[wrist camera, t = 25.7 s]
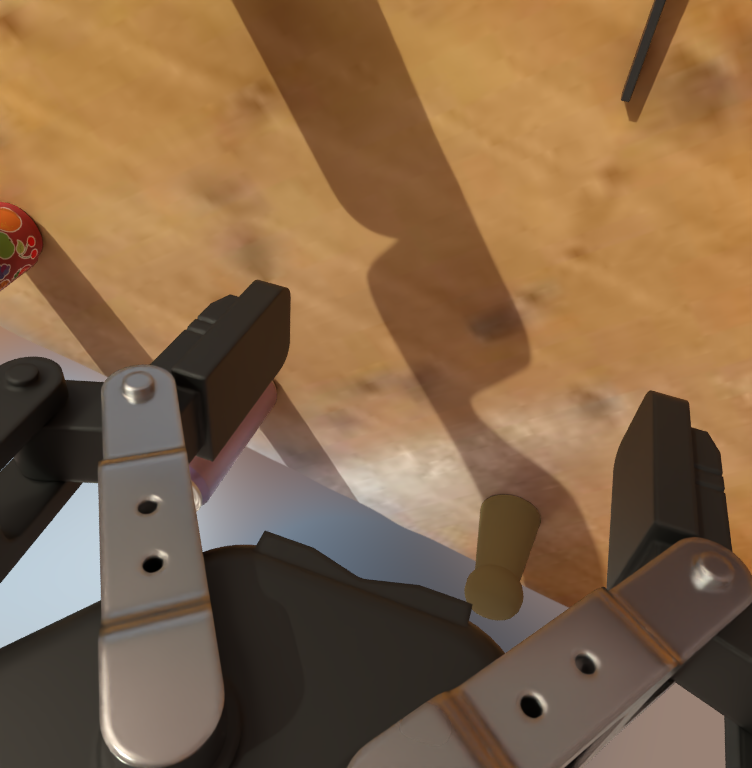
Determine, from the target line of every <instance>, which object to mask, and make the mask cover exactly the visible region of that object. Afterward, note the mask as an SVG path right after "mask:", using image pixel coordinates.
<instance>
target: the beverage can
mask: <svg viewBox="0 0 752 768" xmlns="http://www.w3.org/2000/svg"><path fill="white" fill-rule="evenodd" d="M276 400H277V391H276V386H275V384H274V382H273V380H272V381H271V383H270V384H269V386H268V387H267V388H266V390H265V391H264V392H263V394H262V395H261V397H260V398H259V399H258V401H257V402H256V403H255V405H254V406H253V408H252V409H251V410H250V412H249V413H248V414H247V416H246V417H245V419H244V420H243V421H242V423H241V424H240V425H239V427H238V428H237V430H236V431H235V432H234V434H233V435H232V436H231V438H230V439H229V441H228V442H227V443H226V445H225V446H224V447H223V449H222V450H221V451H220V453H219V454H218V456H217V457H216V458H215V460H214V461H213V462H212V461H209V460H206V459H203V458H200V457H197V456H195V457H194V459H193V460H192V461H191V462H190V464H189V470H190V476H191V482H192V489H193V495H194V501H195V508H196V512H197V511H198V510H199V509H200V508H201V506H202V505H204V504H205V503H206V502H207V501H208V500H209V498H210V497H211V496H212V494H213V493H214V491H215V490H216V488H217V487H218V486H219V484H220V482H221V481H222V480H223V478H224V477H225V475H226V474H227V473H228V471H229V470H230V468H231V467H232V465H233V464H234V462H235V461H236V459H237V458H238V457H239V455H240V454H241V452H242V451H243V449H244V448H245V447H246V445H247V444H248V442H249V441H250V439H251V438H252V437H253V435H254V434H255V432H256V431H257V429H258V428H259V426H260V425H261V424H262V422H263V421H264V419H265V418H266V416H267V415H268V413H269V412H270V411H271V409H272V408H273V406H274V405H275V403H276Z"/></svg>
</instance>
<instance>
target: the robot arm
mask: <svg viewBox="0 0 752 768" xmlns="http://www.w3.org/2000/svg"><path fill="white" fill-rule="evenodd" d="M290 300H291V297H290V291H289V289H288V288H286V287H282V286H279V285H275V284H271V283H268V282H264V281H261V280H255V281H254V282H253V283H252V284H251V285H250V286H249V287H248V288H247V289H246V290H245V291H244V292H243V293H242V294H241V295H240V296H239V297H237V296H234V295H228V296H226V297H224V298H222V299H220V300H217V301H215V302H213V303H211V304H210V305H209V306H208V307H207V308H206V309H205V310H204V311H203V312H202V313H201V314H200V315H199V316H198V319H195V320H194V321H193V322H192V323H191V324H190V325H189V326H188V328H187V330H184V331H183V332H182V333H181V334H180V335H179V336H178V337H177V338H176V339H175V340H174V341H173V342H172V343H171V344H170V345H169V346H168V347H167V348H166V349H165V350H164V351H163V352H162V353H161V354H160V355H159V356H158V357H157V358H156V359H155V360H154V361H153V362H152V363H151V364H150V365H134V366H129V367H126V368H123V369H121V370H118V371H117V372H115V373H113V374H112V375H110V376H109V377H108V378H107V379H106V380H105V382H91V381H74V380H65V379H64V375H63V372H62V369H61V367H60V366H59V365H58V364H57V363H56V362H54V361H52V360H50V359H47V358H42V357H24V358H18V359H14V360H11V361H8V362H6V363H4V364H2V365H0V471H1V469H2V471H1V472H0V583H1V582H2V580H3V579H4V578H5V577H6V576H7V575H8V573H9V572H10V571H11V570H12V568H13V567H14V566H15V565H16V564H17V562H18V561H19V560H20V558H21V557H22V556H23V555H24V554H25V553H26V551H27V550H28V549H29V548H30V546H31V545H32V544H33V543H34V542H35V540H36V539H37V538H38V537H39V535H40V534H41V533H42V532H43V530H44V529H45V528H46V527H47V526H48V524H49V523H50V522H51V521H52V520H53V518H54V517H55V516H56V515H57V513H58V512H59V511H60V510H61V509H62V507H63V506H64V505H65V504H66V502H67V501H68V500H69V499H70V498H71V496H72V495H73V494H74V493H75V491H76V490H77V489H78V488H79V487H80V485H81V484H82V483H83V482H85V483H98V492H99V534H100V575H101V600H100V601H98V602H96V603H94V604H92V605H90V606H88V607H86V608H84V609H82V610H80V611H77V612H75V613H73V614H71V615H69V616H67V617H65V618H63V619H61V620H59V621H56V622H54V623H52V624H50V625H48V626H46V627H44V628H42V629H40V630H38V631H36V632H34V633H31V634H29V635H27V636H25V637H23V638H21V639H19V640H17V641H15V642H13V643H11V644H8V645H7V646H4V647H2V648H0V768H583V767H584V766H585V765H586V764H587V763H589V762H590V761H591V760H592V759H593V758H594V757H595V756H596V755H597V754H598V753H599V752H600V751H601V750H602V749H603V748H604V747H605V746H606V745H607V744H608V743H609V742H610V741H611V740H612V739H613V738H614V737H615V736H617V735H618V734H619V733H620V732H621V731H622V730H623V729H624V728H625V727H627V726H628V725H629V724H630V723H631V722H632V721H633V720H634V719H636V717H638V716H639V715H640V714H641V713H642V712H643V711H644V710H646V709H647V708H648V707H649V706H650V705H651V704H652V703H653V702H655V701H656V700H657V699H658V698H659V697H660V696H661V695H662V694H663V693H665V692H666V691H667V690H668V689H669V688H670V687H671V686H672V685H674V683H677V684H679V685H680V686H682V687H683V688H684V689H686V690H687V691H689V692H691V693H692V694H693V695H695V696H696V697H698V698H699V699H701V700H702V701H703V702H705V703H706V704H708V705H709V706H711V707H712V708H714V709H715V710H717V711H718V712H720V713H721V714H722V715H724V717H725V718H724V720H725V757H726V758H725V760H726V768H752V575H751V573H750V571H749V570H748V568H747V567H746V565H745V564H744V563H743V562H742V561H741V559H740V558H738V557H737V556H736V555H735V554H734V553H733V552H732V545H731V537H730V529H729V520H728V512H727V504H726V496H725V493H724V489H725V487H724V479H723V477H722V473H723V471H722V463H721V454H720V451H719V450H718V448H717V447H716V445H715V443H714V442H713V440H712V439H711V437H710V435H709V434H708V432H706V431H702V430H699V429H695V428H692V427H691V422H690V408H689V402H688V401H687V400H683V399H680V398H676V397H672V396H669V395H665V394H662V393H658V392H655V391H649V392H648V393H647V394H646V395H645V397H644V399H643V401H642V403H641V405H640V407H639V409H638V410H637V412H636V414H635V416H634V418H633V420H632V422H631V424H630V426H629V428H628V430H627V432H626V434H625V435H624V437H623V439H622V441H621V444H620V446H619V449H618V452H617V455H616V459H615V463H614V470H613V487H612V504H611V521H610V538H609V555H608V573H607V589H606V588H605V587H600V588H598V589H596V590H594V591H593V592H591V593H590V594H589V595H587V596H586V597H584V598H583V599H581V600H580V601H579V602H577V603H576V604H574V605H573V606H572V607H570V608H569V609H567V610H566V611H565V612H563V613H562V614H560V615H559V616H557V617H556V618H555V619H553V620H552V621H550V622H549V623H547V624H546V625H545V626H543V627H542V628H540V629H539V630H538V631H536V632H535V633H533V634H532V635H531V636H529V637H528V638H526V639H525V640H523V641H522V642H521V643H519V644H518V645H516V646H515V647H513V648H512V649H511V650H509V651H508V652H506V653H504V651H503V650H502V649H501V648H500V646H499V645H498V644H496V643H495V641H494V640H493V639H492V638H491V637H490V636H488V635H487V634H486V633H485V632H484V631H482V630H481V629H480V628H479V627H478V626H476V625H475V624H473V623H472V622H470V621H469V618H470V614H471V609H472V605H473V604H471V603H468V602H465V601H463V600H460V599H457V598H454V597H451V596H448V595H445V594H443V593H440V592H437V591H434V590H432V589H429V588H426V587H423V586H420V585H413V584H404V583H395V582H386V581H377V580H367V579H362V578H360V577H358V576H356V575H354V574H353V573H351V572H350V571H348V570H347V569H345V568H344V567H342V566H341V565H339V564H337V563H336V562H335V561H333V560H331V559H330V558H328V557H327V556H325V555H324V554H322V553H321V552H319V551H318V550H316V549H314V548H312V547H310V546H307V545H304V544H301V543H298V542H296V541H293V540H290V539H287V538H284V537H281V536H279V535H276V534H273V533H270V532H267V531H264V533H263V535H262V537H261V538H260V540H259V542H258V543H257V545H232V546H224V547H220V548H215V549H211V550H208V551H205V552H202V546H201V539H200V533H199V527H198V521H197V514H196V508H195V501H194V495H193V489H192V482H191V476H190V470H189V464H190V462H191V461H192V460H193V459H194V457H195V456H197V457H200V458H203V459H206V460H209V461H212V462H213V461H214V460H215V458H216V457H217V456H218V454H219V453H220V451H221V450H222V449H223V447H224V446H225V445H226V443H227V442H228V441H229V439H230V438H231V436H232V435H233V434H234V432H235V431H236V430H237V428H238V427H239V425H240V424H241V423H242V421H243V420H244V419H245V417H246V416H247V414H248V413H249V412H250V410H251V409H252V408H253V406H254V405H255V403H256V402H257V401H258V399H259V398H260V397H261V395H262V394H263V392H264V391H265V390H266V388H267V387H268V386H269V384H270V383H271V381H272V380H273V379H274V377H275V376H276V375H277V373H278V372H279V370H280V369H281V368H282V366H283V364H284V362H285V360H286V357H287V354H288V350H289V344H290ZM13 457H14V458H13ZM12 458H13V459H12ZM11 459H12V460H11ZM10 460H11V461H10ZM9 461H10V462H9ZM8 462H9V464H7V463H8ZM6 464H7V465H6ZM5 465H6V466H5Z"/></svg>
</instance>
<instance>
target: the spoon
mask: <svg viewBox="0 0 752 768" xmlns="http://www.w3.org/2000/svg"><path fill="white" fill-rule="evenodd" d="M665 1H666V0H654V3H653V6H652V9H651V11H650V14H649V17H648V20H647V23H646V26H645V29H644V32H643V34H642V37H641V40H640V43H639V46H638V49H637V52H636V54H635V57H634V60H633V63H632V66H631V69H630V72H629V75H628V77H627V80H626V83H625V86H624V89H623V92H622V96H621V100H622V101H626V102H629V101H630V99H631V96H632V93H633V90H634V87H635V85H636V82H637V79H638V76H639V74H640V71H641V68H642V65H643V62H644V60H645V57H646V54H647V51H648V49H649V46H650V43H651V40H652V37H653V35H654V32H655V29H656V26H657V24H658V21H659V18H660V15H661V12H662V10H663V7H664V4H665Z"/></svg>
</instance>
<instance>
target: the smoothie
mask: <svg viewBox="0 0 752 768" xmlns="http://www.w3.org/2000/svg"><path fill="white" fill-rule="evenodd" d="M42 247H43V242H42V237H41V234H40V232H39V230H38V228H37V226H36V225H35V223H34V222H33V220H32V219H31V218H30V217H29V216H28V215H27V214H26V213H25V212H24V211H22V210H21V209H20V208H18V207H17V206H15V205H12V204H10V203H4V202H0V291H1V290H3V289H4V288H5V287H7V286H8V285H9V284H10V283H12V282H13V281H14V280H16V279H17V278H18V277H19V276H21V275H22V274H23V273H25V272H26V271H27V270H29V269H30V268H31V267H32V266H34V264H35V263H36V262H37V261H38V256H39V254H40V252H41V251H42Z"/></svg>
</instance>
